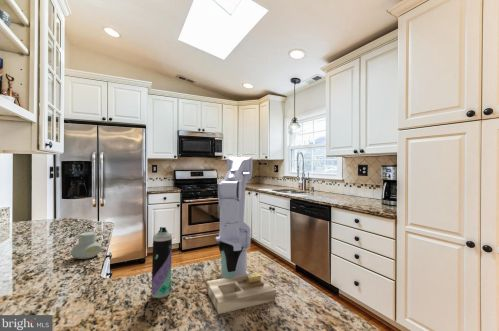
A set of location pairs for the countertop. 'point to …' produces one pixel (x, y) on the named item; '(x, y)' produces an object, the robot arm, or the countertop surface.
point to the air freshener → (86, 246)
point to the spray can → (161, 263)
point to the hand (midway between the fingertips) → (228, 268)
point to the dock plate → (238, 293)
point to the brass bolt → (253, 278)
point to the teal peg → (225, 267)
